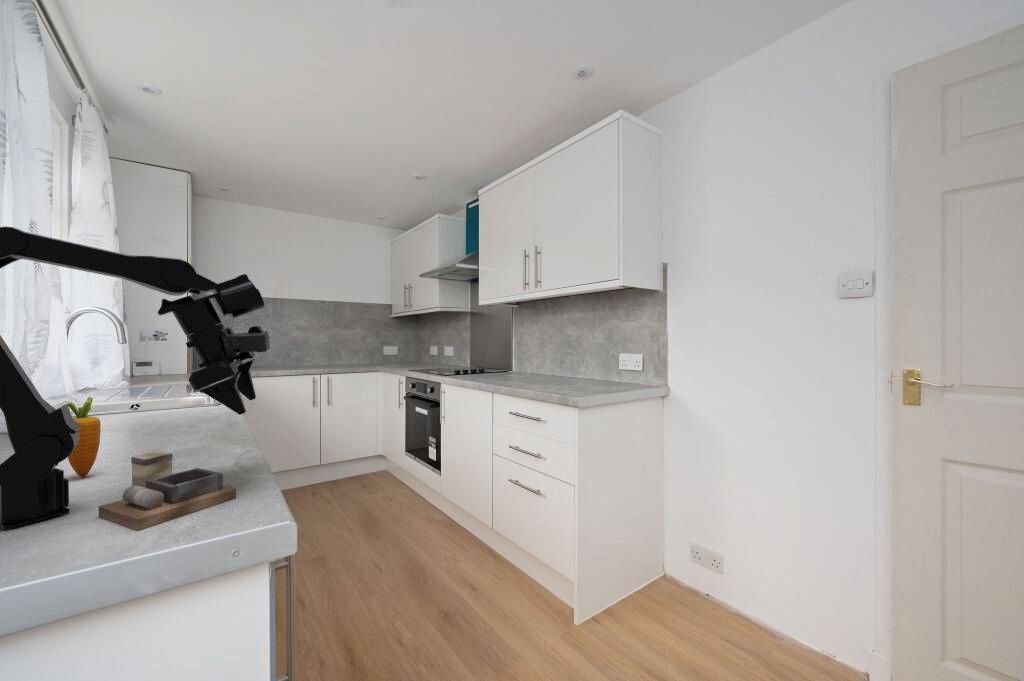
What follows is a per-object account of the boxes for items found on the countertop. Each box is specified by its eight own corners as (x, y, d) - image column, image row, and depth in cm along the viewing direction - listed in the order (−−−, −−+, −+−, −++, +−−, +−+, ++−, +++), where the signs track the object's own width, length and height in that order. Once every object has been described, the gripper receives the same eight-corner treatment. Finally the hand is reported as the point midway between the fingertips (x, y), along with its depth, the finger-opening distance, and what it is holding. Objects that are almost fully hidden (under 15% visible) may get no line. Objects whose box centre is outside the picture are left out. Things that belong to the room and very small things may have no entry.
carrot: (66, 483, 77) (65, 400, 77) (62, 478, 80) (61, 398, 80) (104, 476, 81) (103, 397, 81) (98, 471, 84) (97, 395, 84)
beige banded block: (144, 495, 71) (144, 459, 71) (131, 491, 73) (131, 456, 73) (172, 487, 75) (172, 453, 75) (160, 484, 77) (159, 450, 77)
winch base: (138, 530, 58) (137, 500, 58) (98, 516, 62) (98, 489, 62) (236, 498, 69) (235, 473, 69) (196, 488, 74) (196, 465, 74)
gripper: (240, 316, 69) (286, 400, 73) (261, 308, 86) (297, 376, 91) (165, 344, 66) (217, 430, 70) (202, 329, 83) (242, 399, 87)
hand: (248, 405), depth 80 cm, fingers open, 9 cm apart
